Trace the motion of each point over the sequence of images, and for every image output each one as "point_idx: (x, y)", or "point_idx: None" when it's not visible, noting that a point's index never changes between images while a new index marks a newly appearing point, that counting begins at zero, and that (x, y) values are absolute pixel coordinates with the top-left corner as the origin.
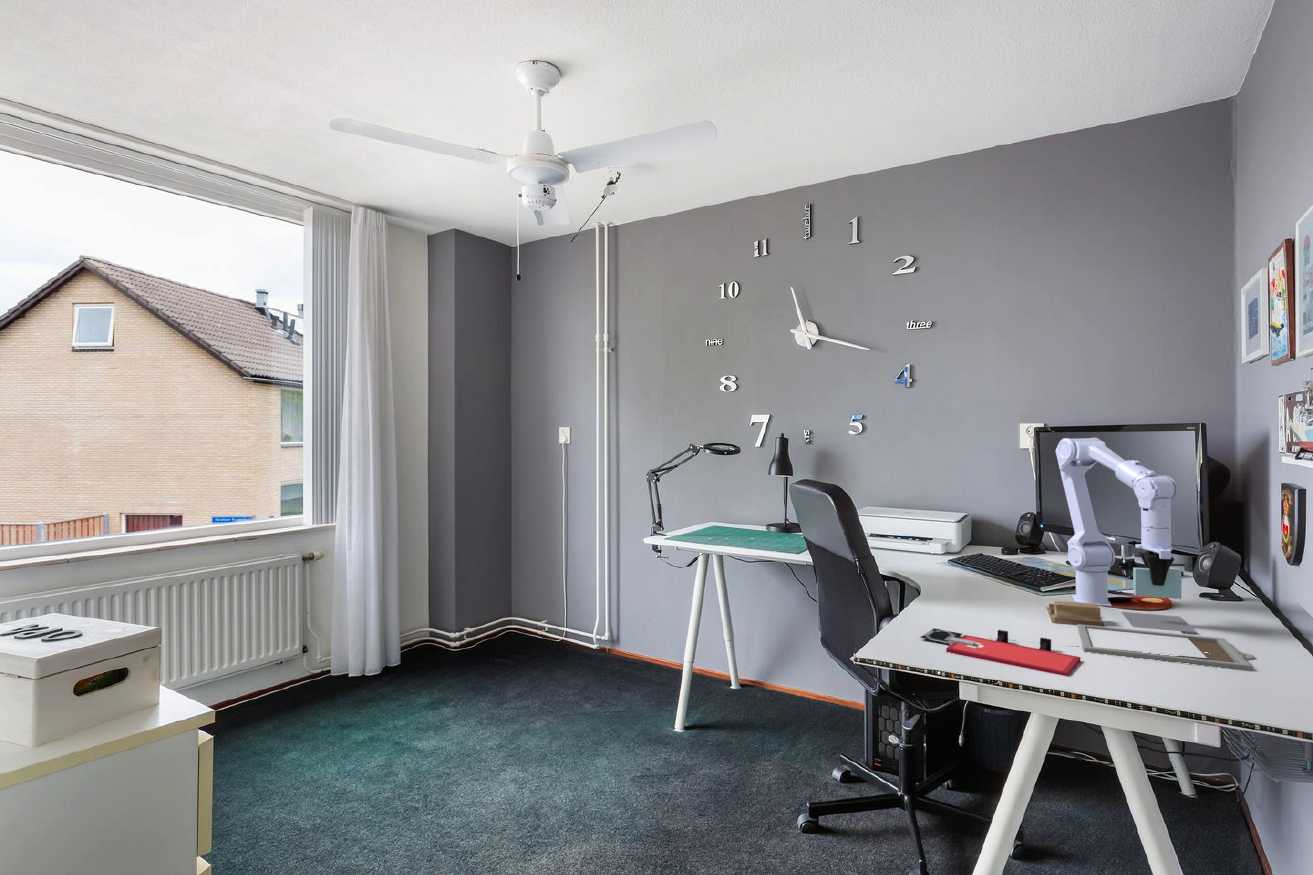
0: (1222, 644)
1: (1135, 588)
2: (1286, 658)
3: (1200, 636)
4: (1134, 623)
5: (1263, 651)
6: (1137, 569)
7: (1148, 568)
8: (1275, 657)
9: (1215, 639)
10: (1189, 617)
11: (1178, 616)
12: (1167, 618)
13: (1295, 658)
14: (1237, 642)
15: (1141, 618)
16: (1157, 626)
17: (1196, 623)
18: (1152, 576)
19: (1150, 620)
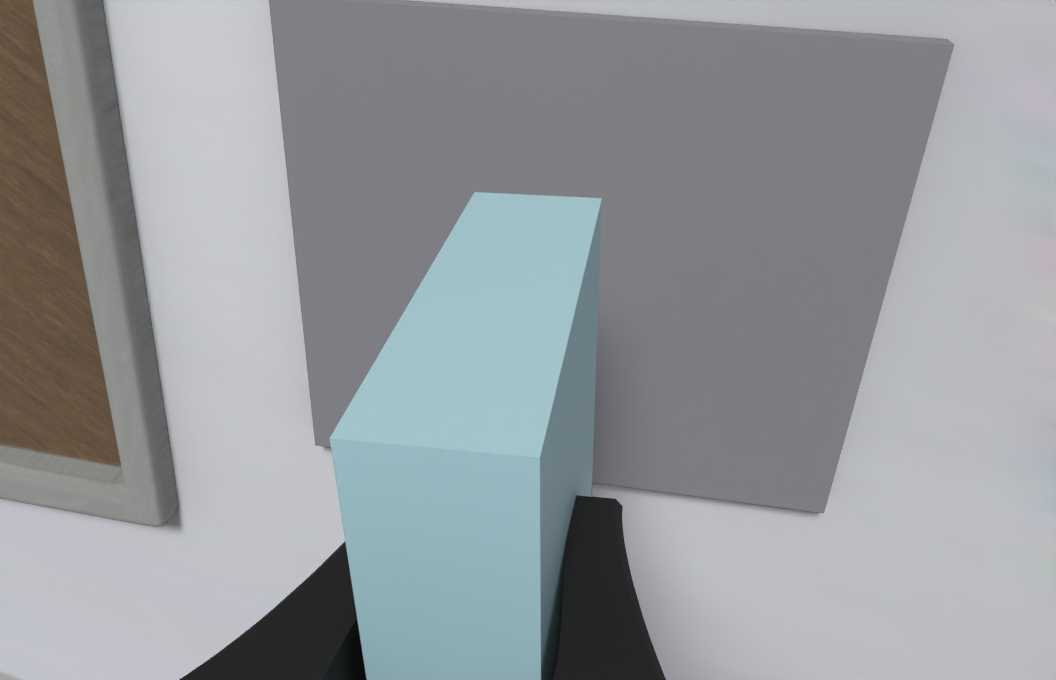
0: (3, 463)
1: (454, 237)
2: (16, 640)
3: (131, 414)
4: (417, 49)
5: (95, 607)
6: (338, 465)
7: (503, 671)
8: (3, 607)
9: (126, 474)
10: (879, 573)
11: (821, 502)
12: (724, 400)
13: (43, 671)
14: (229, 572)
15: (663, 178)
16: (381, 229)
17: (678, 547)
18: (327, 565)
19: (600, 237)
